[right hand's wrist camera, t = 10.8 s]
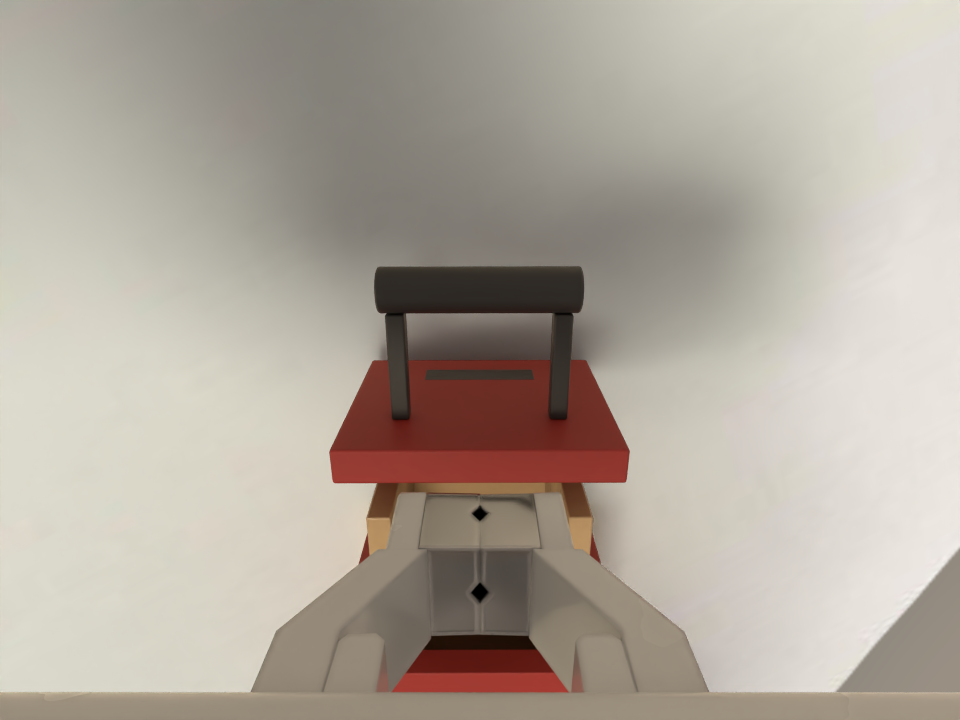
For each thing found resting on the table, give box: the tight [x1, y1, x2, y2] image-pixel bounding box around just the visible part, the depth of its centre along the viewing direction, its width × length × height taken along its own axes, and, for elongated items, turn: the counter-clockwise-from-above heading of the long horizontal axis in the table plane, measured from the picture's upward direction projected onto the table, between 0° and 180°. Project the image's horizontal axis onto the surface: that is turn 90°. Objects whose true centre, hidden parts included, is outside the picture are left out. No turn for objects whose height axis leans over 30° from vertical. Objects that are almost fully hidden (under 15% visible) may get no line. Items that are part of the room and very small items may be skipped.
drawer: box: [329, 266, 630, 650], centre depth 23 cm, size 21×9×8 cm, turn 0°
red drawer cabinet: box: [359, 533, 601, 693], centre depth 27 cm, size 18×10×10 cm, turn 0°
